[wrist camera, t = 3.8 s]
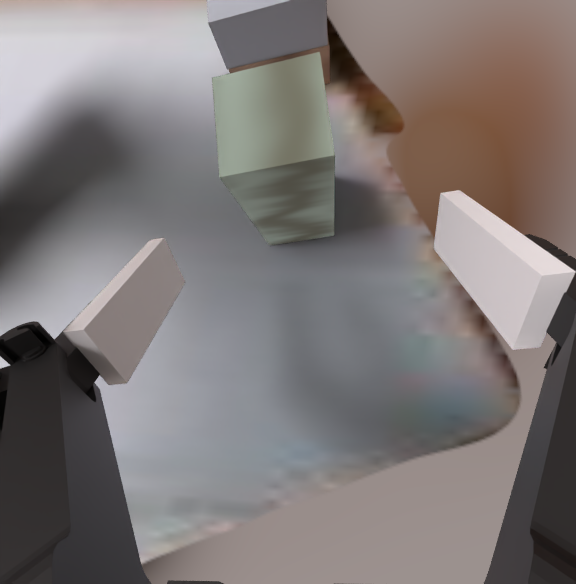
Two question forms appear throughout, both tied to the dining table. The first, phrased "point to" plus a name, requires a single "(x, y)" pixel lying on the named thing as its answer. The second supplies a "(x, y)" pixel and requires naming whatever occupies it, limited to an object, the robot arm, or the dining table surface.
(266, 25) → the slate block
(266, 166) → the sage block
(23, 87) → the dining table surface
